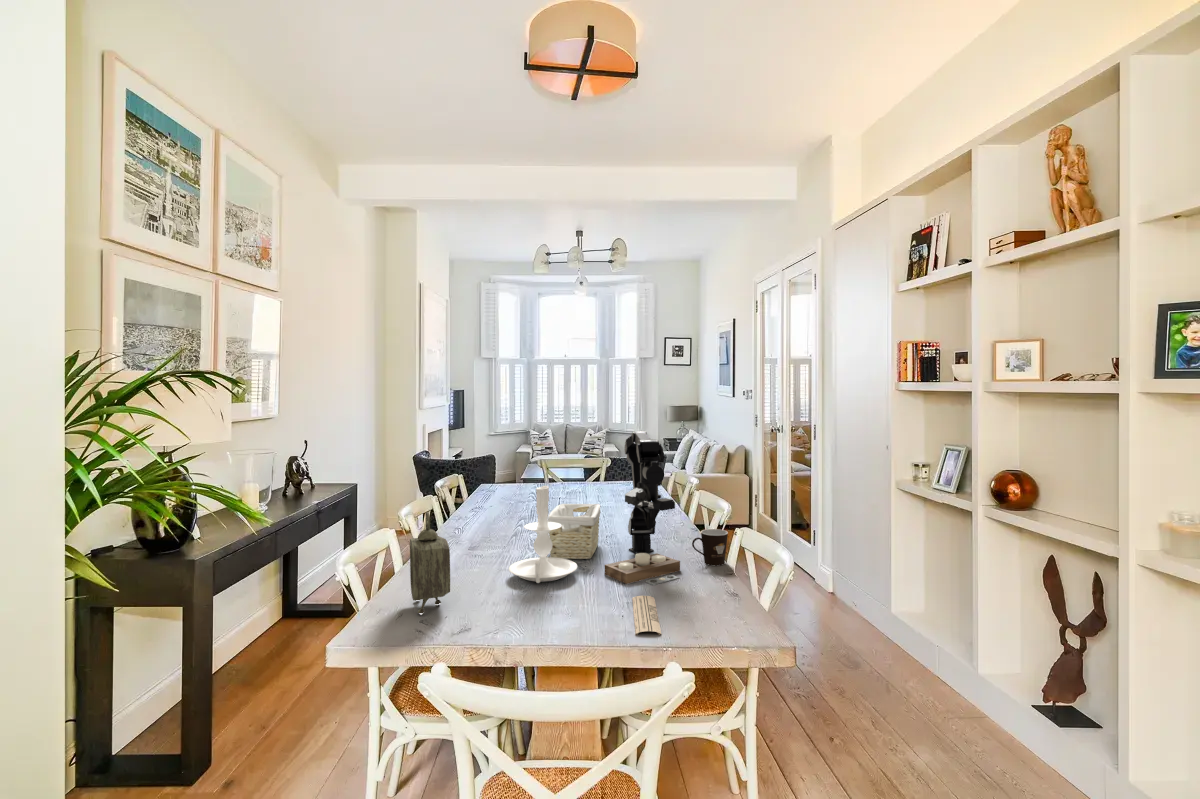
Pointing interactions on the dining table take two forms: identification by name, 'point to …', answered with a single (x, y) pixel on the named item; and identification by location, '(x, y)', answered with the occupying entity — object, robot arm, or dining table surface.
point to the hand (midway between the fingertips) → (649, 527)
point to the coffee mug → (713, 546)
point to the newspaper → (645, 614)
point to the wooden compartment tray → (641, 570)
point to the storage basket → (575, 531)
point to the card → (661, 579)
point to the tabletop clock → (429, 566)
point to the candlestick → (542, 548)
